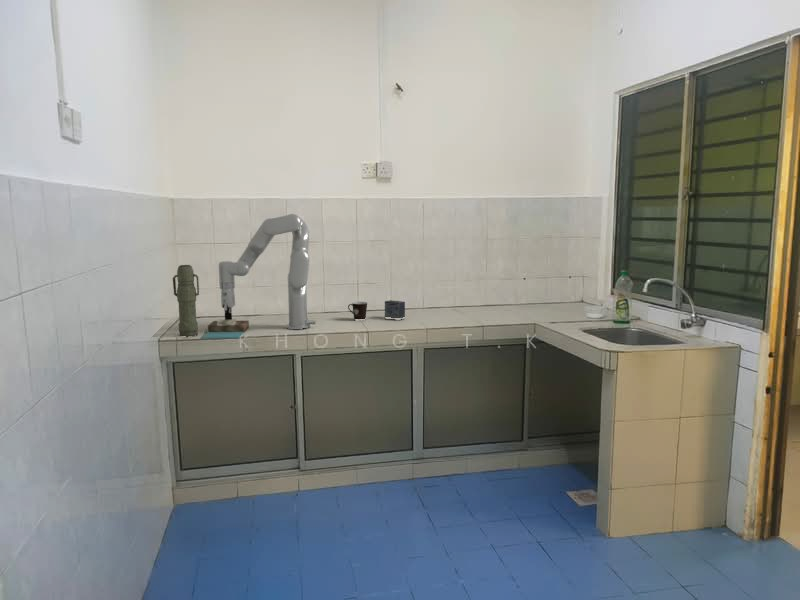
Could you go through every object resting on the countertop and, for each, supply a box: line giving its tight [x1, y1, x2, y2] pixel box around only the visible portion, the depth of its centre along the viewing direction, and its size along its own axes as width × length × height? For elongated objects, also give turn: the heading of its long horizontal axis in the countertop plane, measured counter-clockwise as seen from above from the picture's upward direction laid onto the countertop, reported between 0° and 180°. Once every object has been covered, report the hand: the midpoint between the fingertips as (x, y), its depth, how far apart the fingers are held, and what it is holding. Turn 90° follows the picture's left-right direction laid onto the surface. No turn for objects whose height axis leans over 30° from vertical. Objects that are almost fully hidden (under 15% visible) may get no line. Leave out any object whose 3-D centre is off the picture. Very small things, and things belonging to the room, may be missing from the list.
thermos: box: [172, 264, 200, 338], centre depth 280 cm, size 9×12×35 cm
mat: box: [200, 331, 245, 340], centre depth 282 cm, size 18×12×1 cm, turn 94°
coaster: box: [216, 318, 237, 326], centre depth 289 cm, size 8×6×2 cm
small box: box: [384, 300, 406, 318], centre depth 327 cm, size 11×6×10 cm, turn 58°
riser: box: [207, 320, 250, 333], centre depth 294 cm, size 18×12×4 cm, turn 94°
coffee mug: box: [347, 301, 368, 320], centre depth 324 cm, size 12×9×10 cm
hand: (228, 320), depth 294 cm, fingers closed
